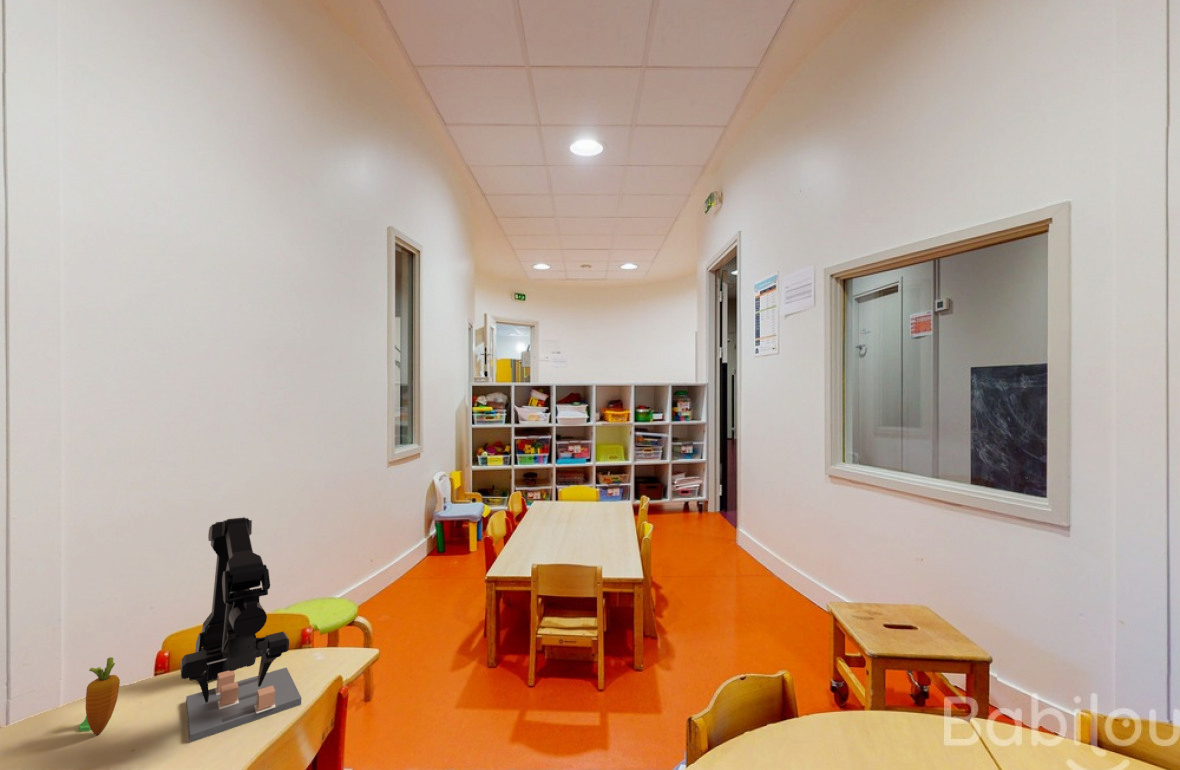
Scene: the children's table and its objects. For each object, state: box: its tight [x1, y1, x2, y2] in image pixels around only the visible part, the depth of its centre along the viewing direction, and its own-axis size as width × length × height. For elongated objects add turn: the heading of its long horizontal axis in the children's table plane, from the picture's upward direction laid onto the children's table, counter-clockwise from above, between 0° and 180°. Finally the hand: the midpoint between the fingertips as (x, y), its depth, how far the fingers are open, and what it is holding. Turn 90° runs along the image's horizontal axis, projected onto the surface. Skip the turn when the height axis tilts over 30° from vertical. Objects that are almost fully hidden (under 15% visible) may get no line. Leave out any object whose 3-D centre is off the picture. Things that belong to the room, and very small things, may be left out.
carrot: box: [85, 656, 121, 736], centre depth 97 cm, size 5×5×15 cm
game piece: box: [78, 716, 92, 732], centre depth 99 cm, size 4×4×6 cm
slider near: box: [256, 685, 275, 710], centre depth 105 cm, size 3×3×3 cm
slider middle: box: [220, 681, 239, 706], centre depth 106 cm, size 3×3×3 cm
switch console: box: [185, 667, 302, 743], centre depth 108 cm, size 18×20×2 cm
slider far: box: [216, 670, 236, 692], centre depth 111 cm, size 3×3×3 cm
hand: (233, 693), depth 101 cm, fingers open, 9 cm apart
